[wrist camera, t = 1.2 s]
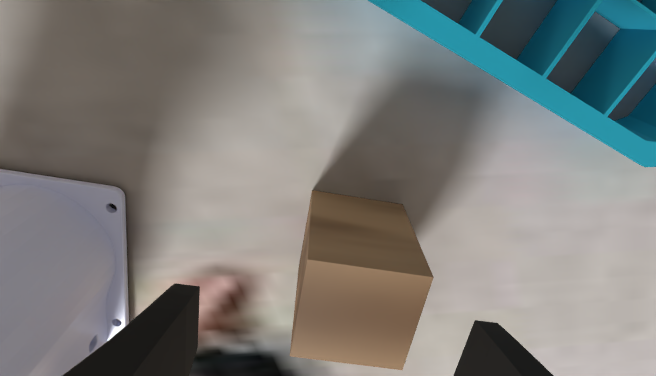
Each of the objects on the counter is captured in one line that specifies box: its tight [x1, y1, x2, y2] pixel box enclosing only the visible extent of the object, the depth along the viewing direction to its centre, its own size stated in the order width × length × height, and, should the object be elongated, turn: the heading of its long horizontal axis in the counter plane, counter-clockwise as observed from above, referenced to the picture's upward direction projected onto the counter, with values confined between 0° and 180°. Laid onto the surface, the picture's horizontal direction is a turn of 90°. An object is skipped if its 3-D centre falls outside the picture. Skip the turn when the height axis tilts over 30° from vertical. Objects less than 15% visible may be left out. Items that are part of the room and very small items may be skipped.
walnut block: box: [290, 190, 433, 370], centre depth 17 cm, size 4×4×6 cm
